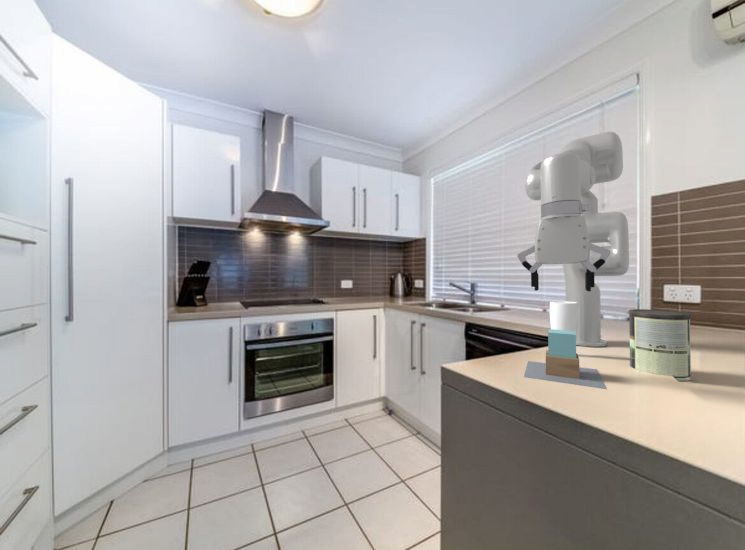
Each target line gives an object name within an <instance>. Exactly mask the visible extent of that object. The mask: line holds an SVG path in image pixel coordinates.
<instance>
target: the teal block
mask: <svg viewBox="0 0 745 550" xmlns="http://www.w3.org/2000/svg"><path fill="white" fill-rule="evenodd" d="M547 336H548V337H547V340H548V342H547V343H548V345H547V348H548V356H555V357H564V358H573V359H576V353H577V345H576V333H575V331H568V330H554V329H551V328H550V329H549V328H548V334H547Z"/></svg>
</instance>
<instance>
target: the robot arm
mask: <svg viewBox="0 0 745 550" xmlns="http://www.w3.org/2000/svg"><path fill="white" fill-rule="evenodd" d="M623 152H624V151H623V144H622V140H621V138H620V136H619V135H618V134H617V133H616V132H613V131H605V132H600V133H596V134H592V135H588V136H585V137H579V138H577V139H573V140H571V141H569V142H567V143H566V144H565V145H563V147H562V148H561V150H560V152H559V153H555V154H552V155H550V156H547V157H545V159H543V160H542V161H540V162H538V163H535V165H533V166H532V167H531V169H530V170H529V172H528V173H527V176H526V178H525V183H524V188H525V189H524V190H525V194H526V196H527V197H528V198H529V199H530V200H533V201H540V219H539V220H538V221H537V224H536V227H535V228H536V229H535V235H534V245H533V246H531V247H529V248H527V249H525V250H523V251H521V252H520V253H517V255H516V256H517V259H518V260H519V261H520V263H521V265H522V266H523V268H525V269H526V270H527V271H529V273H530V279H531V280H530V286H531V288H534V291H538V290H539V287H540V286H539V273H538V269H540V267H542V265H562V269H563V274H564V281H565V282H564V283H565V301H566V302H577V303H578V328H577V338H576V346H580V347H594V348H595V347H596V348H598V347H599V348H600V347H606V346H607V345H608V341H607V340H605V339H602V337H601V336H602V335H601V334H602V333H601V331H602V330H601V327H602V323H601V322H602V320H601V290H600V288H599V286H598V285H597V284H596V283H595V277H621V276H624V275H626V274H627V273H628V272H629V271H628V270H629V267H630V245H629V244H630V243H629V242H630V241H629V240H630V239H629V222H628V219H627V217H626V215H625V214H624V212H620V211H609V212H608V211H607V212H599V210H598V208H599V205H598V203H599V202H598V201H599V199H598V197H597V196H596V194H594V193H593V191H591V189H592V188H593V186H594V185H596V184H603V183H609V182H613V181H616V180H618V179H619V178H620V177H621V176H622V173H623V169H624V159H623V157H624V155H623ZM598 243H599V244H600V243H608V244H610V245H606V246H603V245H602V246H599V245H597V244H598ZM533 253H534V261H535V263H534V264H533V265H532V264H531V263H529V262H528V260H527V259H526V258H527V257H528V256H529V255H531V254H533Z"/></svg>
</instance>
